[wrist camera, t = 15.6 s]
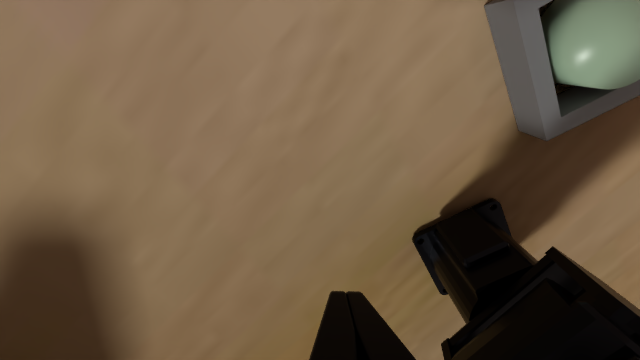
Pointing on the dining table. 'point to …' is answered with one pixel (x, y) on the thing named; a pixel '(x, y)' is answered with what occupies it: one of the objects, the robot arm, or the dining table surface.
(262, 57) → the dining table surface
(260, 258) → the dining table surface
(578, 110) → the button housing
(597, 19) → the button
